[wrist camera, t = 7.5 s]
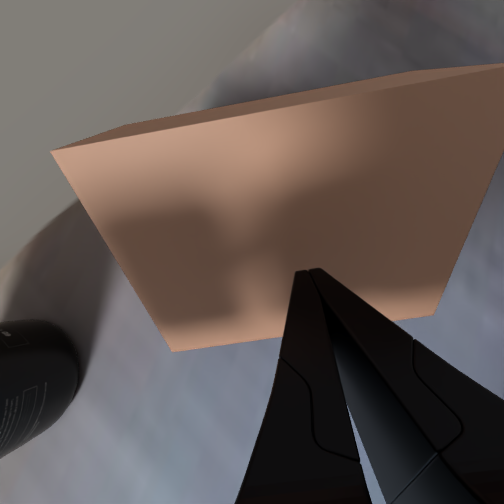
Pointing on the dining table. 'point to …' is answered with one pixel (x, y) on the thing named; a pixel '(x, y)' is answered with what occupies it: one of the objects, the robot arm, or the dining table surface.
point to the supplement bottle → (33, 379)
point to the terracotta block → (294, 198)
